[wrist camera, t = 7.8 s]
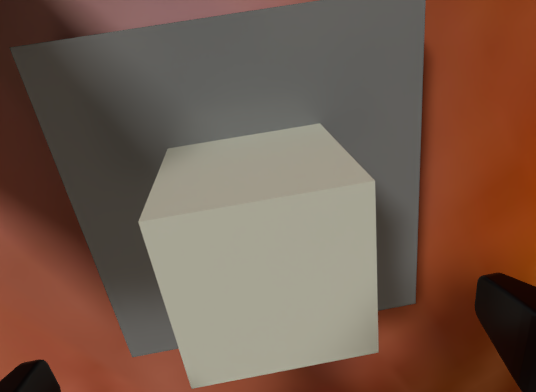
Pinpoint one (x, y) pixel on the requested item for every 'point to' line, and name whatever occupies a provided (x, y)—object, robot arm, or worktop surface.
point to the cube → (264, 253)
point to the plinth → (230, 123)
